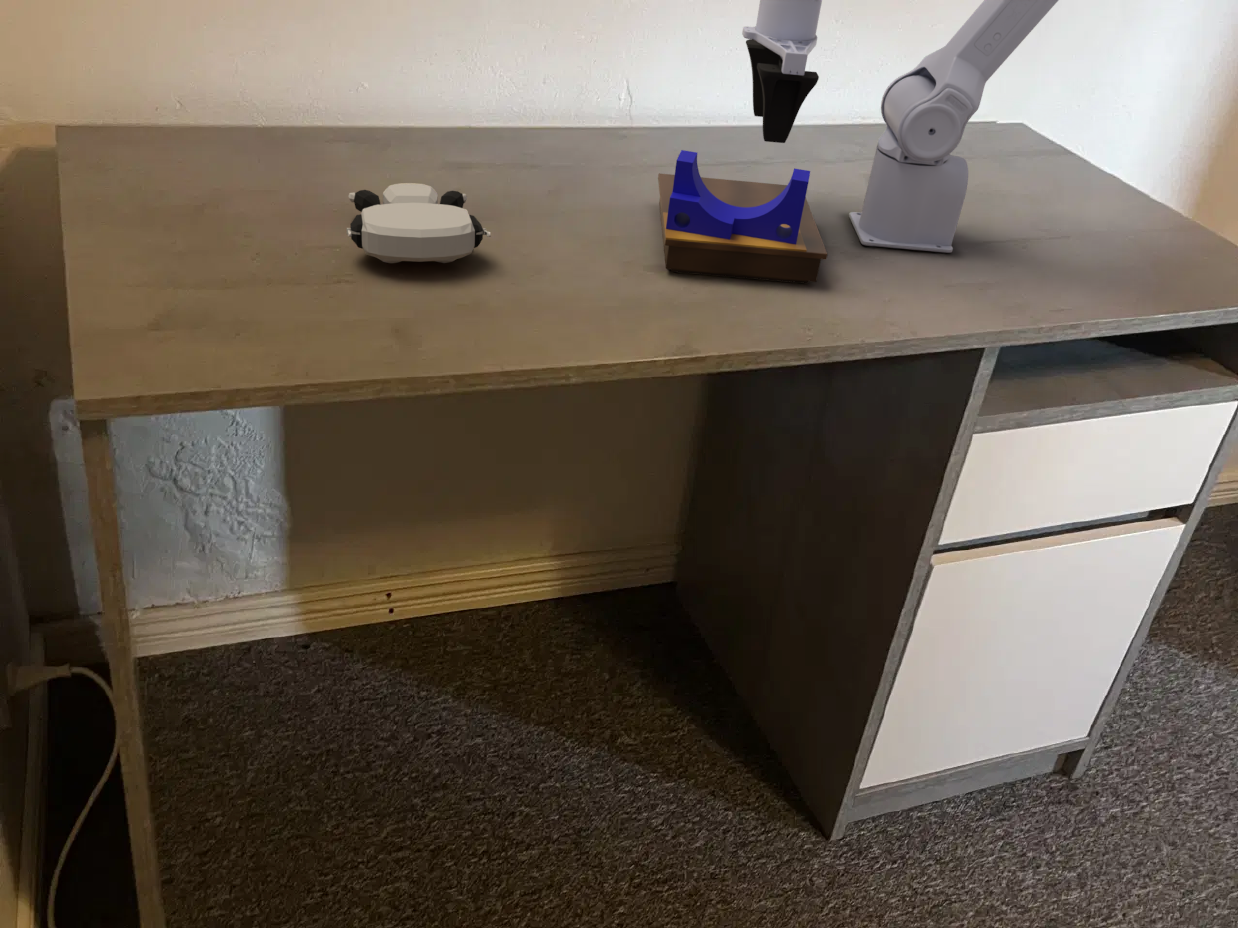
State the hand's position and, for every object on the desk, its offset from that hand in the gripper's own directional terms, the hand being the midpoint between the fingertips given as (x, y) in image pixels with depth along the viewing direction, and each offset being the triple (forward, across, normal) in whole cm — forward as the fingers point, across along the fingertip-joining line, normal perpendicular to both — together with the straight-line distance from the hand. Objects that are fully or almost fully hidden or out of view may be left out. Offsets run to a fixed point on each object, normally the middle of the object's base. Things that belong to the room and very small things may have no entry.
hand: (769, 128), depth 113 cm
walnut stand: (+10, +7, -3) cm, 12 cm away
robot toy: (+10, +13, -34) cm, 37 cm away
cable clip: (+6, +12, -4) cm, 14 cm away
